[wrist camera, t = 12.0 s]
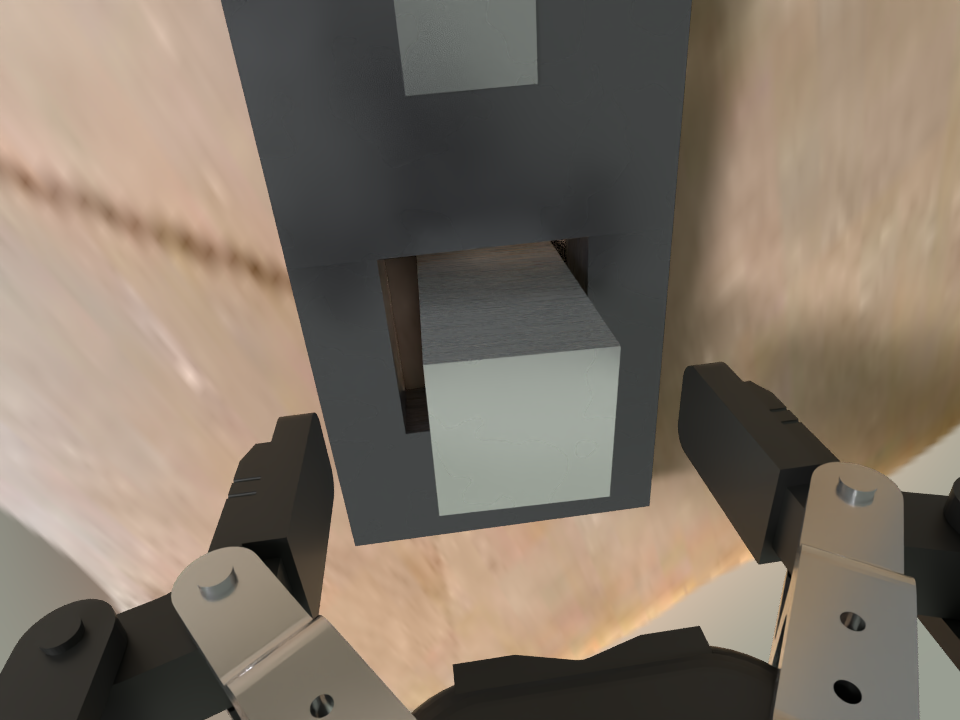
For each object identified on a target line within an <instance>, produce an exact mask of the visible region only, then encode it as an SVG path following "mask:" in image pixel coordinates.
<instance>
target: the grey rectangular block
mask: <svg viewBox="0 0 960 720" xmlns="http://www.w3.org/2000/svg"><path fill="white" fill-rule="evenodd" d="M417 269H418V286H419V303H420V320H421V338H422V355H423V369H424V378H425V387H426V396H427V406H428V415H429V424H430V433H431V443H432V452H433V461H434V470H435V479H436V489H437V498H438V507H439V516H443V515H452V514H461V513H469V512H478V511H487V510H496V509H504V508H513V507H522V506H531V505H539V504H548V503H557V502H565V501H574V500H583V499H592V498H600V497H609V496H610V484H611V471H612V457H613V444H614V431H615V418H616V404H617V391H618V378H619V364H620V351H621V346H620V344H619V343H618V341H617V340H616V338H615V337H614V335H613V334H612V332H611V331H610V329H609V328H608V326H607V325H606V323H605V322H604V320H603V319H602V317H601V316H600V314H599V313H598V311H597V310H596V309H595V307H594V306H593V304H592V303H591V301H590V300H589V298H588V297H587V295H586V294H585V292H584V291H583V289H582V288H581V286H580V285H579V283H578V282H577V280H576V279H575V277H574V276H573V274H572V273H571V271H570V270H569V268H568V267H567V265H566V264H565V262H564V261H563V260H562V258H561V257H560V255H559V254H558V252H557V251H556V249H555V248H554V246H553V245H552V243H551V242H550V241H543V242H534V243H525V244H516V245H507V246H498V247H488V248H479V249H470V250H461V251H452V252H443V253H433V254H424V255H417Z"/></svg>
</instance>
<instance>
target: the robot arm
mask: <svg viewBox="0 0 960 720" xmlns="http://www.w3.org/2000/svg"><path fill="white" fill-rule="evenodd" d="M678 433H679V439H680V443H681V446H682V448H683V450H684V452H685V454H686V455H687V457H688V458H689V460H690V461H691V463H692V464H693V466H694V467H695V469H696V470H697V472H698V473H699V475H700V476H701V478H702V479H703V481H704V482H705V484H706V485H707V487H708V488H709V490H710V492H711V493H712V495H713V496H714V498H715V499H716V501H717V502H718V504H719V505H720V507H721V508H722V510H723V511H724V513H725V514H726V516H727V517H728V519H729V520H730V522H731V523H732V525H733V526H734V528H735V529H736V531H737V533H738V534H739V536H740V537H741V539H742V540H743V542H744V543H745V545H746V546H747V548H748V549H749V551H750V552H751V554H752V555H753V557H754V558H755V560H756V561H757V563H758V564H765V563H772V562H778V561H782V562H783V564H784V565H785V566H786V568H787V572H786V576H785V580H784V584H783V590H782V595H781V601H780V605H779V611H778V616H777V621H776V626H775V631H774V637H773V642H772V647H771V653H770V657H769V662H768V663H766V662H764V661H762V660H759V659H757V658H755V657H752V656H750V655H747V654H744V653H741V652H737V651H734V650H731V649H726V648H721V647H714V646H709V644H708V642H707V640H706V638H705V636H704V634H703V632H702V630H701V628H700V626H696V627H689V628H683V629H677V630H671V631H664V632H657V633H651V634H645V635H640V636H637V637H635V638H633V639H630V640H628V641H626V642H624V643H621V644H619V645H617V646H615V647H612V648H610V649H608V650H606V651H603V652H601V653H599V654H597V655H594V656H592V657H590V658H587V659H584V660H568V659H557V658H545V657H534V656H522V655H511V656H504V657H498V658H492V659H485V660H479V661H472V662H466V663H460V664H453V672H454V683H455V685H454V686H451V687H449V688H447V689H445V690H443V691H441V692H439V693H438V694H436V695H434V696H433V697H431V698H429V699H428V700H427V701H425V702H424V703H423V704H421V705H420V706H419V707H418V708H416V709H415V710H414V711H413V712H412V713H410V711H409V710H408V709H407V708H406V707H405V706H404V705H403V704H402V703H401V701H400V700H399V699H398V698H397V697H396V696H395V695H394V694H393V692H392V691H391V690H390V689H389V688H388V687H387V686H386V685H385V683H384V682H383V681H382V680H381V679H380V678H379V677H378V676H377V675H376V673H375V672H374V671H373V670H372V669H371V668H370V667H369V666H368V664H367V663H366V662H365V661H364V660H363V659H362V658H361V657H360V655H359V654H358V653H357V652H356V651H355V650H354V649H353V648H352V646H351V645H350V644H349V643H348V642H347V641H346V640H345V639H344V638H343V636H342V635H341V634H340V633H339V632H338V631H337V630H336V629H335V627H334V626H333V625H332V624H331V623H330V622H329V621H328V620H327V619H326V618H325V617H323V616H321V615H319V607H320V599H321V592H322V584H323V577H324V569H325V561H326V554H327V546H328V538H329V531H330V523H331V515H332V508H333V500H334V482H333V474H332V469H331V465H330V461H329V457H328V453H327V449H326V445H325V441H324V437H323V433H322V429H321V425H320V421H319V418H318V416H317V414H316V413H308V414H300V415H292V416H284V417H279V419H278V421H277V424H276V427H275V431H274V434H273V438H272V441H271V442H267V443H260V444H255V445H254V446H253V448H252V449H251V450H250V451H249V452H248V453H247V454H246V455H245V456H244V457H243V458H242V460H241V461H240V462H239V465H238V468H237V471H236V474H235V477H234V483H232V485H231V488H230V491H229V494H228V499H226V502H225V505H224V508H223V511H222V514H221V516H220V519H219V522H218V525H217V528H216V531H215V534H214V536H213V539H212V542H211V545H210V548H209V551H208V553H207V554H205V555H203V556H201V557H199V558H198V559H196V560H195V561H193V562H192V563H191V564H190V565H189V566H187V567H186V568H185V569H184V570H183V571H182V573H181V574H180V575H179V577H178V578H177V580H176V581H175V583H174V586H173V588H172V592H170V593H168V594H167V595H165V596H162V597H160V598H158V599H155V600H153V601H150V602H148V603H145V604H143V605H140V606H138V607H135V608H132V609H130V610H127V611H125V612H122V613H120V614H117V615H116V613H115V612H114V610H113V608H112V606H111V605H109V604H108V603H107V602H105V601H102V600H97V599H86V600H80V601H76V602H73V603H70V604H67V605H64V606H62V607H60V608H58V609H56V610H54V611H52V612H51V613H49V614H47V615H46V616H44V617H43V618H42V619H40V620H39V621H38V622H37V623H35V624H34V625H33V626H32V627H31V628H30V629H29V630H28V631H27V632H26V633H25V634H24V635H23V636H22V637H21V639H20V640H19V641H18V643H17V645H16V646H15V648H14V649H13V651H12V653H11V655H10V657H9V659H8V660H7V663H6V664H5V666H4V668H3V670H2V672H1V673H0V720H205V719H207V718H209V717H211V716H213V715H215V714H218V713H220V712H222V711H224V710H226V711H227V713H228V715H229V716H230V718H231V720H920V714H919V713H920V711H919V672H918V636H917V635H918V634H917V617H918V619H919V620H920V621H921V623H922V624H923V625H924V626H925V628H926V629H927V630H928V631H929V633H930V634H931V635H932V636H933V638H934V639H935V640H936V641H937V643H938V644H939V645H940V647H942V649H943V650H944V652H945V653H946V654H947V656H948V657H949V658H950V659H951V660H952V662H953V663H954V664H955V666H956V667H957V668H958V669H959V671H960V478H958V479H957V480H956V481H955V482H954V484H953V487H952V489H951V492H950V494H949V496H943V495H932V494H921V493H910V492H902V491H901V490H900V489H899V488H898V486H897V485H896V484H895V483H894V482H893V481H892V480H890V479H889V478H888V477H886V476H885V475H883V474H882V473H880V472H878V471H876V470H874V469H871V468H869V467H866V466H863V465H859V464H855V463H849V462H840V461H839V460H838V459H837V458H836V457H835V456H834V455H833V454H832V453H831V452H830V451H829V450H828V449H827V448H826V447H825V446H824V445H823V444H822V443H821V442H820V441H819V440H818V439H817V438H816V437H815V436H814V435H813V434H812V433H811V432H810V431H809V430H808V429H807V428H806V427H805V426H804V425H803V424H802V423H801V422H800V423H799V422H798V418H797V417H796V416H795V415H794V414H793V413H792V412H791V411H790V410H787V409H786V406H785V405H784V404H783V403H782V402H781V401H780V400H779V399H778V398H777V397H776V396H775V395H774V394H773V393H772V392H770V391H768V390H766V389H764V388H762V387H760V386H758V385H757V384H755V383H753V382H751V381H746V382H743V381H742V380H741V379H740V378H739V377H738V376H737V375H736V374H735V373H734V372H733V371H732V370H731V369H730V368H729V367H728V365H726V364H725V363H724V362H717V363H709V364H701V365H693V366H688V367H687V368H686V369H685V371H684V375H683V384H682V392H681V401H680V410H679V419H678Z"/></svg>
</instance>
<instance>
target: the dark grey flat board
mask: <svg viewBox="0 0 960 720" xmlns="http://www.w3.org/2000/svg"><path fill="white" fill-rule="evenodd" d="M221 3H222V7H223V11H224V15H225V19H226V23H227V27H228V31H229V35H230V39H231V43H232V47H233V51H234V55H235V59H236V64H237V68H238V72H239V76H240V80H241V84H242V88H243V92H244V96H245V100H246V104H247V108H248V112H249V116H250V120H251V124H252V128H253V133H254V137H255V141H256V145H257V149H258V153H259V157H260V161H261V165H262V169H263V173H264V177H265V181H266V185H267V189H268V193H269V197H270V202H271V206H272V210H273V214H274V218H275V222H276V226H277V230H278V234H279V238H280V242H281V246H282V250H283V254H284V258H285V262H286V267H287V271H288V275H289V279H290V283H291V287H292V291H293V295H294V299H295V303H296V307H297V311H298V315H299V319H300V323H301V327H302V331H303V336H304V340H305V344H306V348H307V352H308V356H309V360H310V364H311V368H312V372H313V376H314V380H315V384H316V388H317V392H318V396H319V400H320V405H321V409H322V413H323V417H324V421H325V425H326V429H327V433H328V437H329V441H330V445H331V449H332V453H333V457H334V461H335V465H336V469H337V474H338V478H339V482H340V486H341V490H342V494H343V498H344V502H345V506H346V510H347V514H348V518H349V522H350V526H351V530H352V534H353V538H354V543H355V546H360V545H367V544H374V543H382V542H389V541H396V540H403V539H411V538H418V537H425V536H433V535H440V534H447V533H455V532H462V531H469V530H477V529H484V528H491V527H499V526H506V525H513V524H521V523H528V522H535V521H543V520H550V519H557V518H565V517H572V516H579V515H587V514H594V513H601V512H609V511H616V510H623V509H631V508H638V507H645V506H649V504H650V492H651V480H652V468H653V457H654V445H655V433H656V421H657V409H658V397H659V385H660V373H661V361H662V349H663V338H664V326H665V314H666V302H667V290H668V278H669V266H670V254H671V242H672V230H673V219H674V207H675V195H676V183H677V171H678V159H679V147H680V135H681V123H682V112H683V100H684V88H685V76H686V64H687V52H688V40H689V28H690V16H691V4H692V0H221ZM562 239H566V265H567V267H568V268H569V270H570V271H571V273H572V274H573V276H574V277H575V279H576V280H577V282H578V283H579V285H580V286H581V288H582V289H583V291H584V292H585V294H586V295H587V297H588V298H589V300H590V301H591V303H592V304H593V306H594V307H595V309H596V310H597V311H598V313H599V314H600V316H601V317H602V319H603V320H604V322H605V323H606V325H607V326H608V328H609V329H610V331H611V332H612V334H613V335H614V337H615V338H616V340H617V341H618V343H619V344H620V346H621V351H620V364H619V378H618V391H617V404H616V418H615V431H614V444H613V457H612V471H611V484H610V496H609V497H600V498H592V499H583V500H574V501H565V502H557V503H548V504H539V505H531V506H522V507H513V508H504V509H496V510H487V511H478V512H469V513H461V514H452V515H443V516H439V507H438V498H437V489H436V479H435V470H434V461H433V452H432V443H431V433H430V424H429V415H428V406H427V396H426V388H419V389H410V390H405V383H404V377H403V371H402V365H401V359H400V352H399V346H398V340H397V334H396V327H395V321H394V315H393V309H392V303H391V296H390V290H389V284H388V278H387V272H386V265H385V259H388V258H397V257H406V256H415V255H424V254H433V253H443V252H452V251H461V250H470V249H479V248H488V247H498V246H507V245H516V244H525V243H534V242H543V241H553V240H562Z"/></svg>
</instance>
